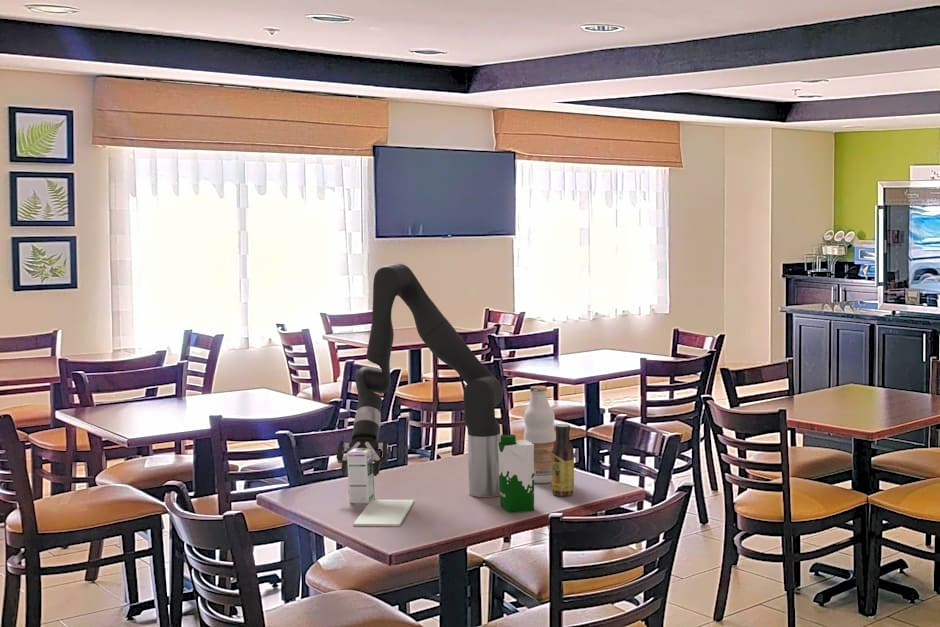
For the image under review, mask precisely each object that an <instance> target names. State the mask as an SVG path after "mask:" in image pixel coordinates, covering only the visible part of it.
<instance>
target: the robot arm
mask: <svg viewBox="0 0 940 627" xmlns="http://www.w3.org/2000/svg"><path fill="white" fill-rule="evenodd" d="M372 291H373V292H372V312H371V313H372V314H371V329H370V334H369V339H368V343H367V348H366V354H365V355H366V357H365V358H366V360H367V361H369V362H370V363H372V364H375V365H377V366H378V367H379V368H380V369H379V368H373V367H369V366H362V367H360V368H359V369H358V370H357V371H356V374H355V386H356V389H357V390H356V391H357V396H358V398H357V399H358V401H357V406H356V413H355V416H354V420H353V428H352V435H351V440H350V442H345V441H343V440H340V441H339V444H338V448H337V452H336V457H335V458H336V460H337V463H338V464H341V468H340V471H341V474H342V475H343V476H344V477H348V463H347V453H348V452H350V451H351V450H353V448H371V449H372V456H373V475H374V477H377V476H378V475H379V474H380V471H381V465H382V464H387V463H388V460H389V443H388V441H387V440H384V441H383V442H379V436H380V428H381V414H382V407H383V399H382V397H381V396H380V394H387V392H388V391H389V390H390V388H391V386H392V376H391V368H390V364H391V361H390V360H391V354H392V349H393V344H394V335H395V334H394V327H393V321H392V320H393V319H392V310H393V305H394V302H395V299H396V297H399V298H400V299H401V300H402V301H403V302H404V304H405V305H406V306H407V307H408V309H409V310H410V311H411V312H410V313H411V314H412V316H413V320H414V322H415V323H414V324H415V327H416V330H417V333H418V335H419V338H420V339H421V340H422V341H423V343H424V344H425V345H426V347H427V348H428V349H429V350H430V352H431V353H432V354H433V355H434V356H435V357H437V359H439V360H440V361H441V362H443V363H444V364H445V365H447V366H448V367H450V368H451V369H453V370H454V371H455V372H456V373H457V374H458V375H459V376H460V377H461V379H463V381H464V382H465V383H466V385H465V387H464V390H463V397H462V398H463V401H462V402H463V413H464V424H465V426H466V428H467V455H468V457H467V461H468V492H469V495H470V496H472V497H476V498H491V497H500V488H499V455H498V443H497V442H498V441H501V425H500V423H499V422H498V421H497V420H496V412H495V410H496V409H495V407H496V406H497V405H499V404H500V403H502V402H501V401H502V400H503V397H504V389H503V386H502V384H501V382H500V380H498V378H497V377H496V376H495V375H494V374H493V373H492V372H491V371H490V370H489V369H488V368H487V367H486V366H485V365H484V364H483V363H482V362H481V361H480V360H479V359H478V358H477V356H476V355H475V354H474V352H473V351H472V350H471V348H470V347H469V346H468V345H467V344H466V342H465V340H464V339H463V338H462V337H461V335H460V334H459V333H458V331H457V330H456V329H455V327H454V326H453V325H452V324H451V323H450V321H449V320H448V319H447V318H446V317H445V315H443V313H442V312H441V310H440V309H439V308H438V307H437V305H436V304H435V303H434V302H433V300H432V299H431V298H430V297H429V295H428V294H427V292H426V291H425V289H424V288H423V286H422V285H421V282H420V281H419V280H418V278H417V277H416V275H415V274H414V272H413V271H412V270H411V268H410V267H408V265H406V264H404V263H400V262H398V263H397V262H396V263H392V264H387V265H383V266H381V267H379V268H378V269H377V270H376V272H375V273H374V277H373V287H372ZM348 448H349V450H348ZM379 449H380V450H381V451H382V454H381V456H380V457H379V455H378V453H377V450H379ZM347 450H348V451H347ZM346 451H347V452H346ZM345 452H346V453H345Z"/></svg>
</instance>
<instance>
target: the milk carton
mask: <svg viewBox="0 0 940 627" xmlns="http://www.w3.org/2000/svg"><path fill="white" fill-rule="evenodd" d="M497 443H498V455H499V488H500V496H499V501H500V502H499V503H500V507H501V508H502V510H504V511H506V512H507V513H508V514H515V513H523V512H532V511H535V483H534V444H532V443H530V442H529V441H527V440H525V439H524V438H523V439H517V438H516V435H515V434H512V433H507V434H500V441H498V442H497Z"/></svg>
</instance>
